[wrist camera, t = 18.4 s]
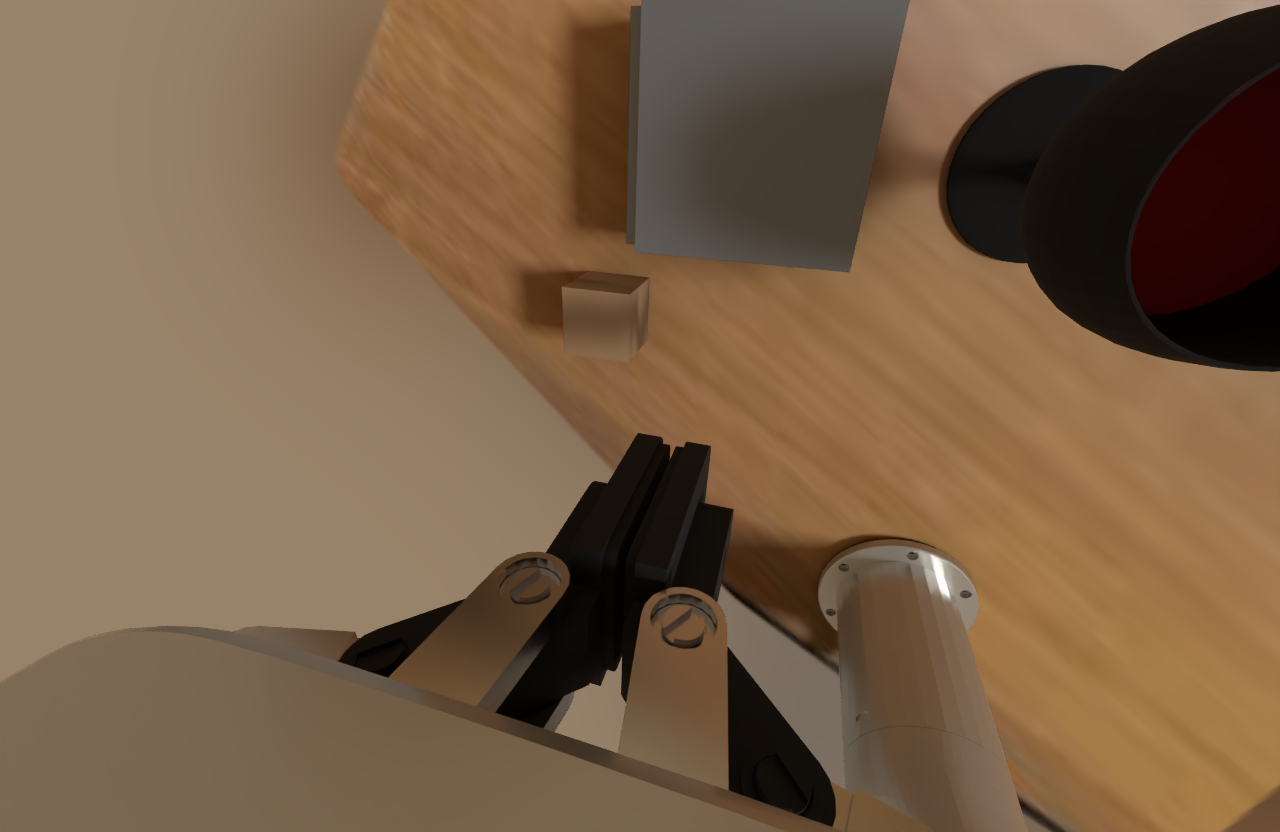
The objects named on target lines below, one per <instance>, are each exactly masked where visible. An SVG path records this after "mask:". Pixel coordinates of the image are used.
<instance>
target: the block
mask: <svg viewBox="0 0 1280 832" xmlns="http://www.w3.org/2000/svg"><path fill="white" fill-rule="evenodd" d="M648 302H649V278H646V277H636V276H627V275H617V274H608V273H598V272H589V271H588V272H586V273H584V274H583V275H581V276H579V277H578V278H576V279H574V280H572V281H571V282H569V283H567V284H566V285H564V286H562V308H563V334H564V354H571V355H577V356H584V357H591V358H598V359H605V360H612V361H618V362H625V363H628V362H629V361H630V360H631V359H632V358H633V356H634V355H635V354H636V353H637V352H638V350H639V349H640V348H641V347H642V346H643V344H644V343H645V342H646V341H647V326H648Z"/></svg>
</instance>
